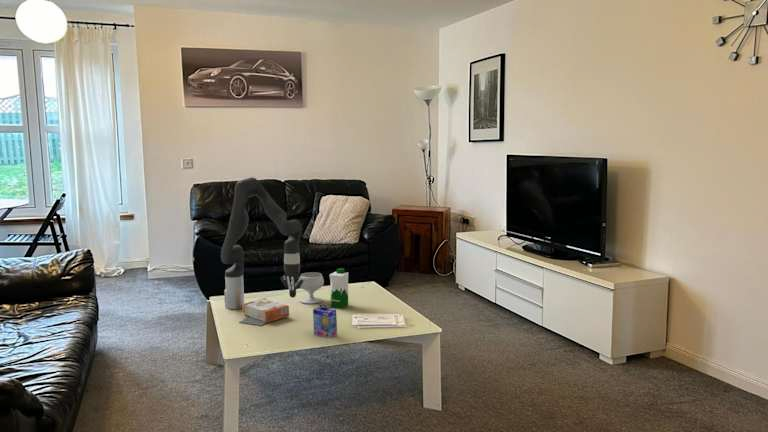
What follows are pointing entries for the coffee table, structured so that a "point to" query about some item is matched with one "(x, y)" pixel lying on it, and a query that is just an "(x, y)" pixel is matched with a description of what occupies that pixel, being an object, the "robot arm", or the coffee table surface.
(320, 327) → the ink cartridge box
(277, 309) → the cracker box
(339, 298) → the milk carton
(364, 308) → the coffee table surface
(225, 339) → the coffee table surface
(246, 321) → the mat
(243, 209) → the robot arm
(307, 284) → the chalice
